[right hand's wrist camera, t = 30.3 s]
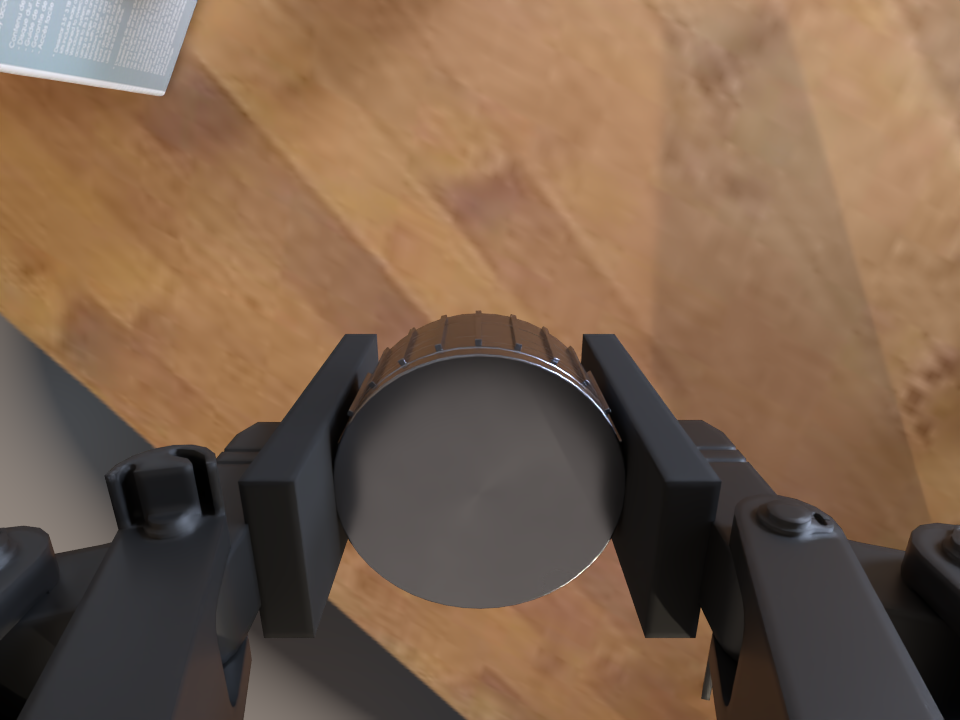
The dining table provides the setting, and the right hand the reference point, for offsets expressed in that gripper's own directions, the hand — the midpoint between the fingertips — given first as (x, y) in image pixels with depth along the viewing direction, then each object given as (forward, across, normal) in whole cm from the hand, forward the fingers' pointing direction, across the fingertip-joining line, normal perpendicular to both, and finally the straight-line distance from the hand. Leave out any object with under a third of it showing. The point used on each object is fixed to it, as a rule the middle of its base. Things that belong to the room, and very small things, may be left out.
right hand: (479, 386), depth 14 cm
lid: (-4, 0, 0) cm, 4 cm away
